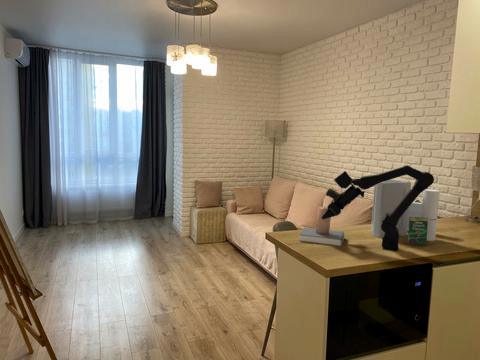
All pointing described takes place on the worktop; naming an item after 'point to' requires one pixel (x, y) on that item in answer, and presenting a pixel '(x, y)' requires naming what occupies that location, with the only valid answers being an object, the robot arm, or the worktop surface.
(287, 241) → the worktop surface
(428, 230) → the cylindrical container
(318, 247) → the worktop surface
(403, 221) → the tall white carton
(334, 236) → the book
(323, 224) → the pink cylinder
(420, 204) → the skincare box
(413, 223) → the coffee box
